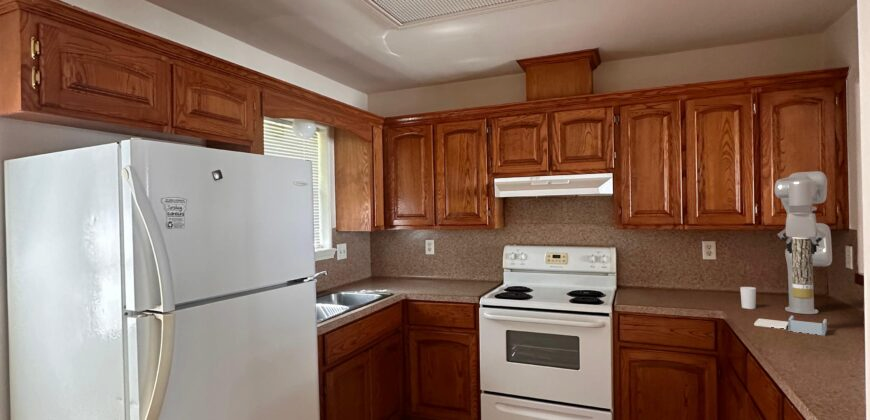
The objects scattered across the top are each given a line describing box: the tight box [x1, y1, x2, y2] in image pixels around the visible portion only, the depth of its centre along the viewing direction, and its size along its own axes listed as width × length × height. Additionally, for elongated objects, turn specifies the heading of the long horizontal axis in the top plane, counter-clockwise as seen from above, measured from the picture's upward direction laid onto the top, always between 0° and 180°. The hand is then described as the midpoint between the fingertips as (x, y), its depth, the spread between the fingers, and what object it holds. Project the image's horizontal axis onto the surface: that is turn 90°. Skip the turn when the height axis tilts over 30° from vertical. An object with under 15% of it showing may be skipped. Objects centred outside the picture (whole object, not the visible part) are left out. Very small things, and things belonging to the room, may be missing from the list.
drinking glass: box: [739, 286, 757, 310], centre depth 241 cm, size 7×7×10 cm
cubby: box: [787, 315, 828, 336], centre depth 195 cm, size 11×12×4 cm
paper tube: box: [791, 237, 815, 299], centre depth 196 cm, size 7×7×25 cm
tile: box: [753, 318, 788, 330], centre depth 206 cm, size 11×11×1 cm
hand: (801, 253), depth 196 cm, fingers closed on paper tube, 6 cm apart
